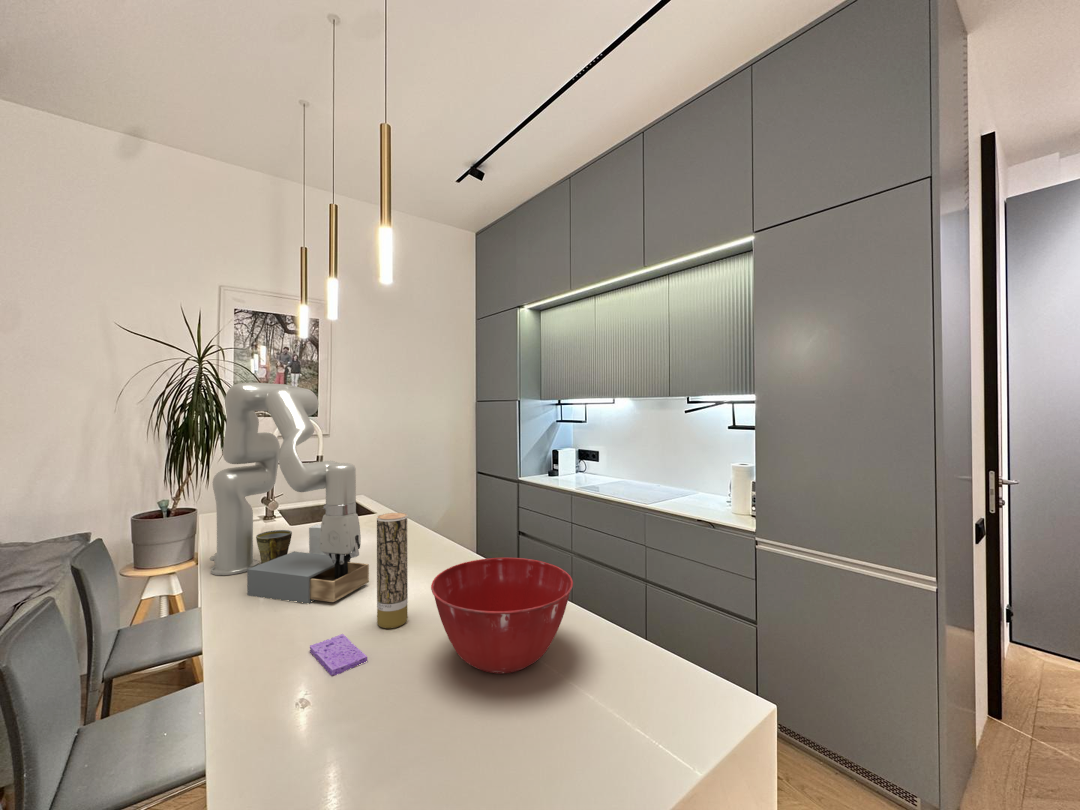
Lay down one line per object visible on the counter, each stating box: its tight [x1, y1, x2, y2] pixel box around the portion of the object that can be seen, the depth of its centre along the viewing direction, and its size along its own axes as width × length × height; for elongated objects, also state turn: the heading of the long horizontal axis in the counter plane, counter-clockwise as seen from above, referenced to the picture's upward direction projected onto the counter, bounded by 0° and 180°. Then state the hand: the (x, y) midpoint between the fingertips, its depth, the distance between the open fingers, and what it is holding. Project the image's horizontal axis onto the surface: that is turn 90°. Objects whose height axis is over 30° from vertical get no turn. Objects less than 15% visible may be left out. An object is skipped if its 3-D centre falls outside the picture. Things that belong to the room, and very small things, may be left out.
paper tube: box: [376, 512, 409, 629], centre depth 109 cm, size 7×7×25 cm
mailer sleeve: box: [246, 551, 351, 604], centre depth 130 cm, size 20×16×7 cm
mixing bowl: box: [430, 557, 574, 675], centre depth 95 cm, size 28×28×16 cm
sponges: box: [309, 633, 368, 676], centre depth 95 cm, size 7×13×2 cm, turn 44°
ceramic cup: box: [255, 529, 293, 564], centre depth 148 cm, size 13×10×10 cm
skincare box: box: [308, 524, 325, 555], centre depth 151 cm, size 6×4×12 cm
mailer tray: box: [310, 561, 370, 603], centre depth 128 cm, size 19×14×5 cm
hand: (341, 577), depth 127 cm, fingers closed
